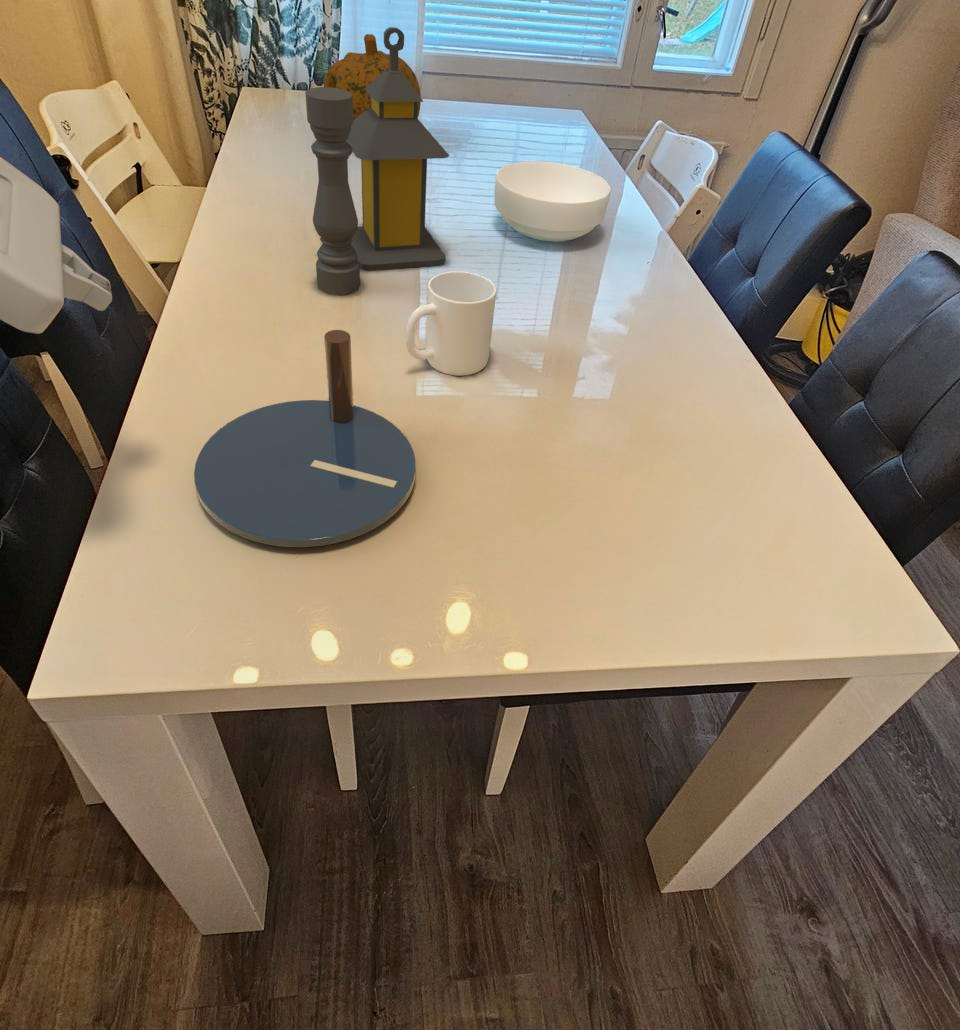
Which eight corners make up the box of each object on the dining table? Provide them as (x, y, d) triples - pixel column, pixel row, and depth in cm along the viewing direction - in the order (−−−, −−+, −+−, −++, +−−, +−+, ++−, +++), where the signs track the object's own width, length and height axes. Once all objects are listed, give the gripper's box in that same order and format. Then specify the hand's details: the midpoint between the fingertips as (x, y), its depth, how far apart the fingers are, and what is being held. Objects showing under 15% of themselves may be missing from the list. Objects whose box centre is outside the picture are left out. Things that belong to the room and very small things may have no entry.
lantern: (447, 264, 112) (460, 42, 91) (360, 271, 108) (353, 39, 87) (422, 228, 121) (429, 18, 100) (340, 233, 117) (330, 15, 96)
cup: (500, 366, 92) (510, 293, 85) (423, 392, 86) (426, 316, 79) (464, 337, 96) (469, 266, 89) (388, 359, 91) (388, 285, 84)
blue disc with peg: (149, 512, 66) (118, 417, 59) (263, 389, 82) (250, 302, 74) (367, 573, 63) (364, 482, 56) (442, 434, 79) (448, 347, 71)
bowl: (583, 264, 116) (593, 213, 111) (474, 236, 120) (478, 185, 115) (612, 224, 130) (622, 176, 124) (512, 200, 134) (518, 153, 128)
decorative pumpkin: (432, 129, 158) (430, 23, 143) (408, 167, 145) (403, 55, 130) (346, 119, 161) (336, 14, 146) (314, 156, 147) (299, 44, 132)
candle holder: (318, 274, 105) (304, 84, 88) (360, 276, 106) (354, 88, 89) (316, 294, 101) (301, 98, 84) (359, 295, 102) (354, 102, 85)
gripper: (-74, 206, 43) (140, 329, 53) (-48, 109, 56) (120, 223, 66) (-125, 284, 44) (92, 389, 54) (-88, 172, 57) (82, 273, 67)
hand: (107, 297), depth 60 cm, fingers closed
